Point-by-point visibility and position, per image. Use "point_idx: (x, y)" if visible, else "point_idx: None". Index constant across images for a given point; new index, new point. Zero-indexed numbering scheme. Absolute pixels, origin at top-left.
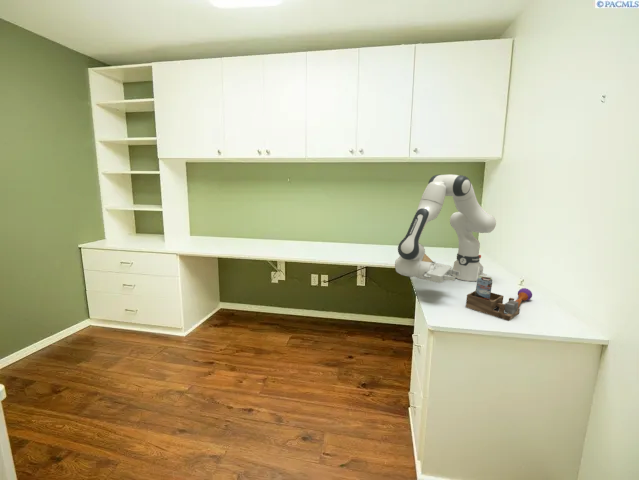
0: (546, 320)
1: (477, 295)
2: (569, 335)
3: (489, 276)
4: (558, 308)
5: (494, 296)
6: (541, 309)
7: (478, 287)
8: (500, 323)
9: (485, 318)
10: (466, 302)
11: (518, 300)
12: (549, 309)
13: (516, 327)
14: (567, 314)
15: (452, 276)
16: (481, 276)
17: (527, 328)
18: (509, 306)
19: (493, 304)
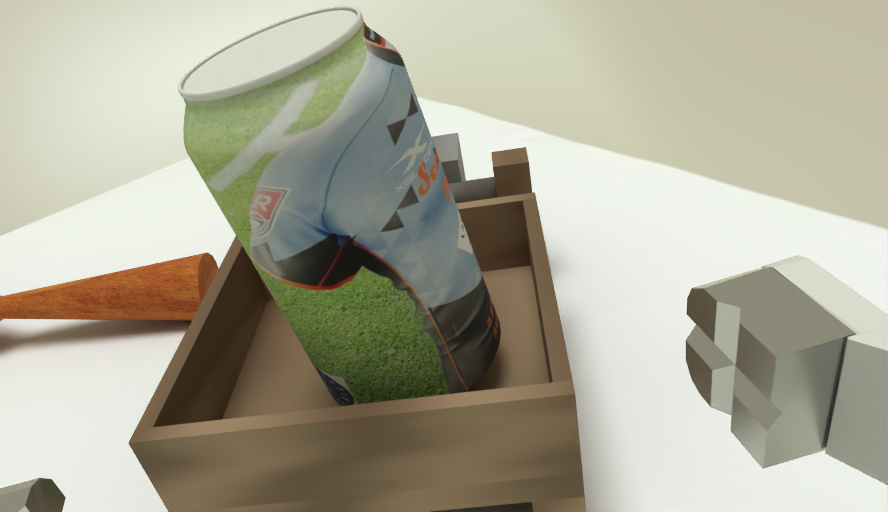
0: None
1: (480, 312)
2: (448, 110)
3: (203, 60)
4: (31, 227)
5: (236, 310)
6: (110, 248)
7: (439, 215)
8: (644, 231)
9: (674, 302)
10: (582, 487)
11: (107, 274)
12: (82, 235)
13: (600, 184)
14: (126, 187)
15: (812, 302)
16: (356, 34)
17: (548, 167)
18: (461, 162)
19: (508, 227)
